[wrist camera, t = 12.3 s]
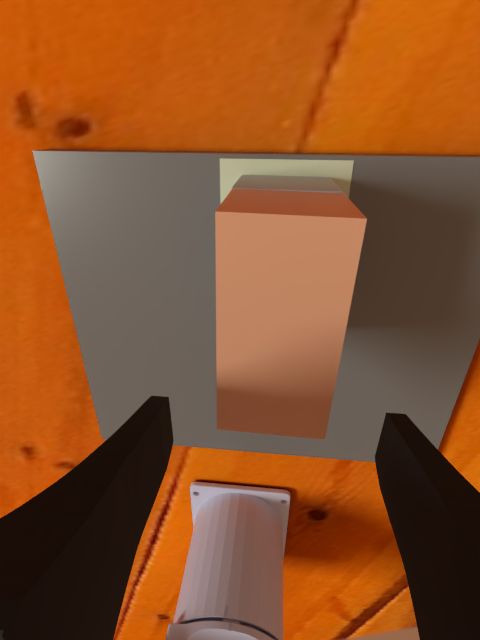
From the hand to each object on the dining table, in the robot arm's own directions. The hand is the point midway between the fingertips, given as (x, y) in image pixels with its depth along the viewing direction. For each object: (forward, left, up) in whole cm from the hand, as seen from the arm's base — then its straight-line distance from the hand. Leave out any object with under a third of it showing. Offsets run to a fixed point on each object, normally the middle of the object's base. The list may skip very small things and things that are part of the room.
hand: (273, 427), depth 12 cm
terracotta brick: (+3, 0, -5) cm, 6 cm away
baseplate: (-2, 0, -10) cm, 10 cm away
